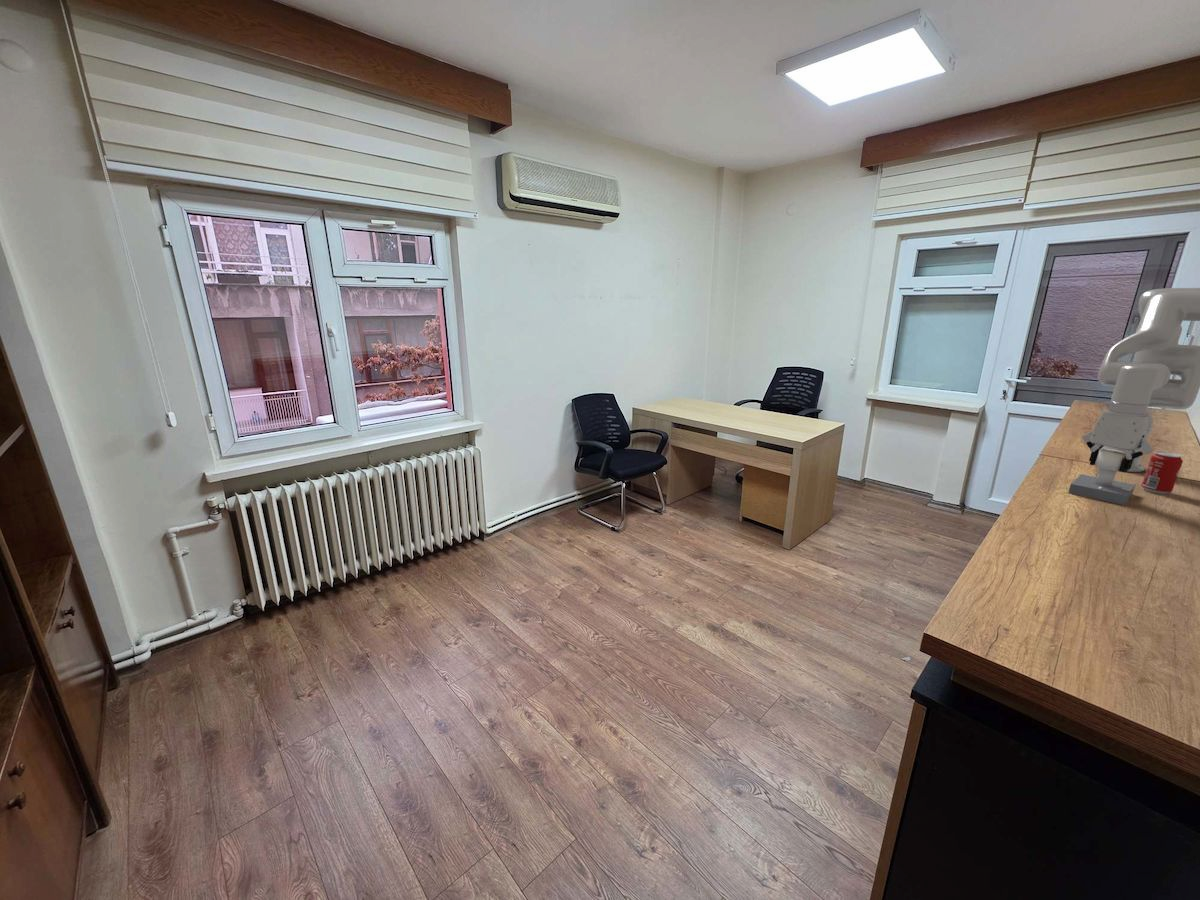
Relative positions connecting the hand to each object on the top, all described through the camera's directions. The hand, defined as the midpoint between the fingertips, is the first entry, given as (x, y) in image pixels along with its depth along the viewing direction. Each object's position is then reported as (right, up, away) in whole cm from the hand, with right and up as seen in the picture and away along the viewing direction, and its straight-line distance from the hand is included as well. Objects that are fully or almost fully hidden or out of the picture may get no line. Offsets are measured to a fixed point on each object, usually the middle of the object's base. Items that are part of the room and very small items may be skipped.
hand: (1108, 467), depth 144 cm
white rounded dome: (0, 0, 0) cm, 0 cm away
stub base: (0, -8, +3) cm, 8 cm away
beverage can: (+19, -8, +4) cm, 21 cm away
